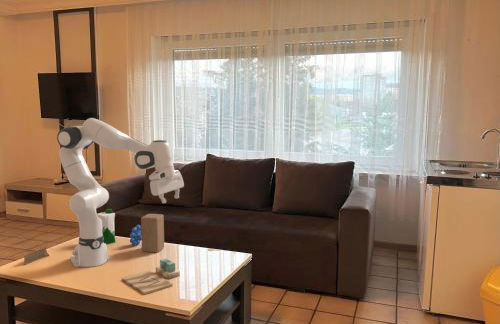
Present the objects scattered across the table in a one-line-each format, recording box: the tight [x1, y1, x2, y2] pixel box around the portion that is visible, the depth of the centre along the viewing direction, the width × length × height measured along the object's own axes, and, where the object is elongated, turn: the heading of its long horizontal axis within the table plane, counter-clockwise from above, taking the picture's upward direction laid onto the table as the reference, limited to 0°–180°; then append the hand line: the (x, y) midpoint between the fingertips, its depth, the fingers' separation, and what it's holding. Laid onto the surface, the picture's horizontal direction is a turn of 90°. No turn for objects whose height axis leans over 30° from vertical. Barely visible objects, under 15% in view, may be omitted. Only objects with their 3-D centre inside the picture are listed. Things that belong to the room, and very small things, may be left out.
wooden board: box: [121, 270, 174, 296], centre depth 192 cm, size 22×14×1 cm, turn 42°
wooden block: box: [140, 213, 165, 253], centre depth 238 cm, size 10×10×20 cm
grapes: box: [129, 224, 142, 247], centre depth 247 cm, size 12×7×12 cm, turn 154°
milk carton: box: [97, 208, 116, 245], centre depth 251 cm, size 9×9×20 cm
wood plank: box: [23, 246, 50, 266], centre depth 221 cm, size 15×2×5 cm, turn 163°
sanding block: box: [155, 258, 181, 280], centre depth 203 cm, size 12×6×6 cm, turn 42°
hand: (170, 200), depth 203 cm, fingers open, 8 cm apart
